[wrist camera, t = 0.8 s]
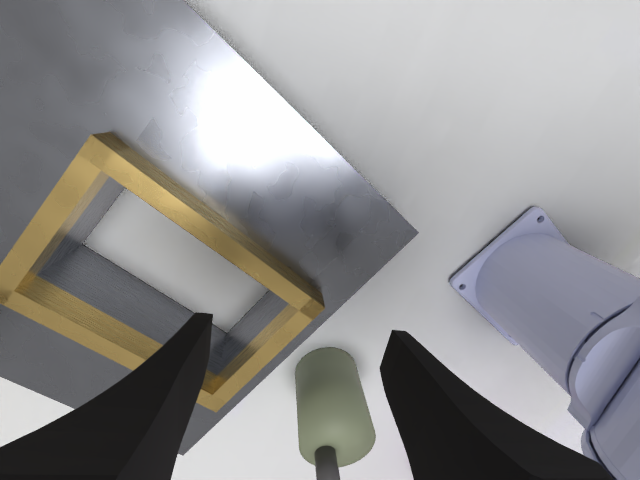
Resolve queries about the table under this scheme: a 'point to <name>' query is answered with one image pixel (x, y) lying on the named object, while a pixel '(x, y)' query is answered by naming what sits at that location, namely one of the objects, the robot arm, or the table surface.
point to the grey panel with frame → (162, 198)
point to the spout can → (331, 412)
